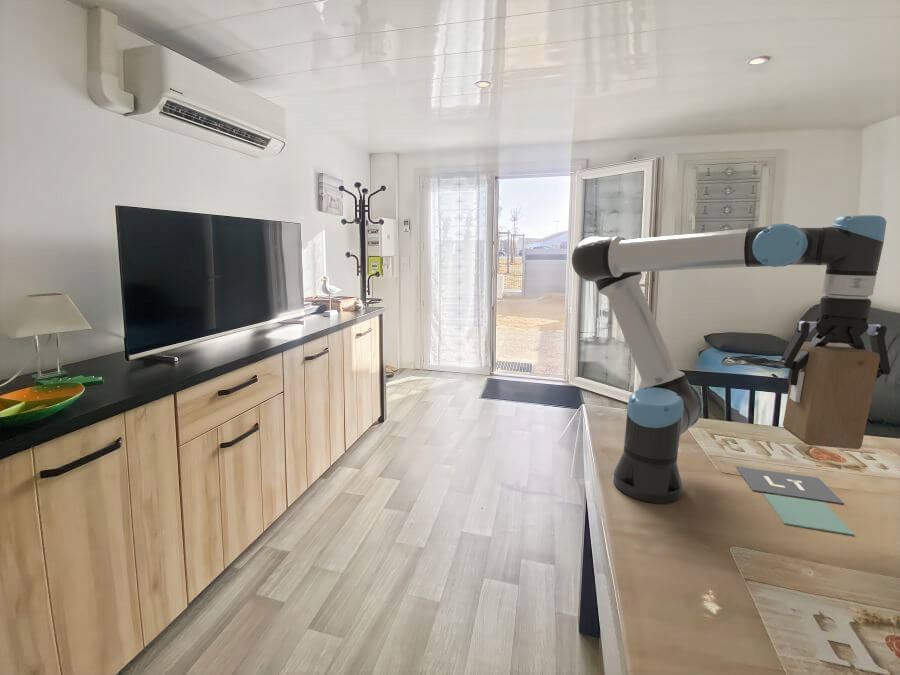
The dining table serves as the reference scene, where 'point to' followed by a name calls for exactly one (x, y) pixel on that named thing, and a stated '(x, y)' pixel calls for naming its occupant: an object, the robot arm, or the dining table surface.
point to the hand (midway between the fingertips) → (825, 402)
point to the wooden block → (833, 396)
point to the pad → (807, 514)
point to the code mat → (788, 485)
